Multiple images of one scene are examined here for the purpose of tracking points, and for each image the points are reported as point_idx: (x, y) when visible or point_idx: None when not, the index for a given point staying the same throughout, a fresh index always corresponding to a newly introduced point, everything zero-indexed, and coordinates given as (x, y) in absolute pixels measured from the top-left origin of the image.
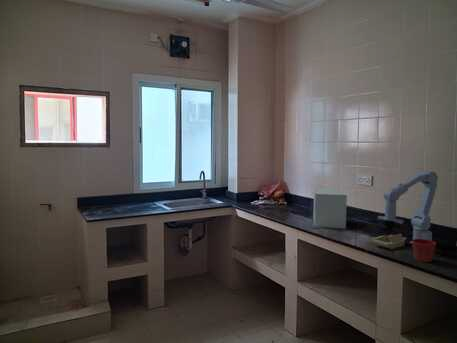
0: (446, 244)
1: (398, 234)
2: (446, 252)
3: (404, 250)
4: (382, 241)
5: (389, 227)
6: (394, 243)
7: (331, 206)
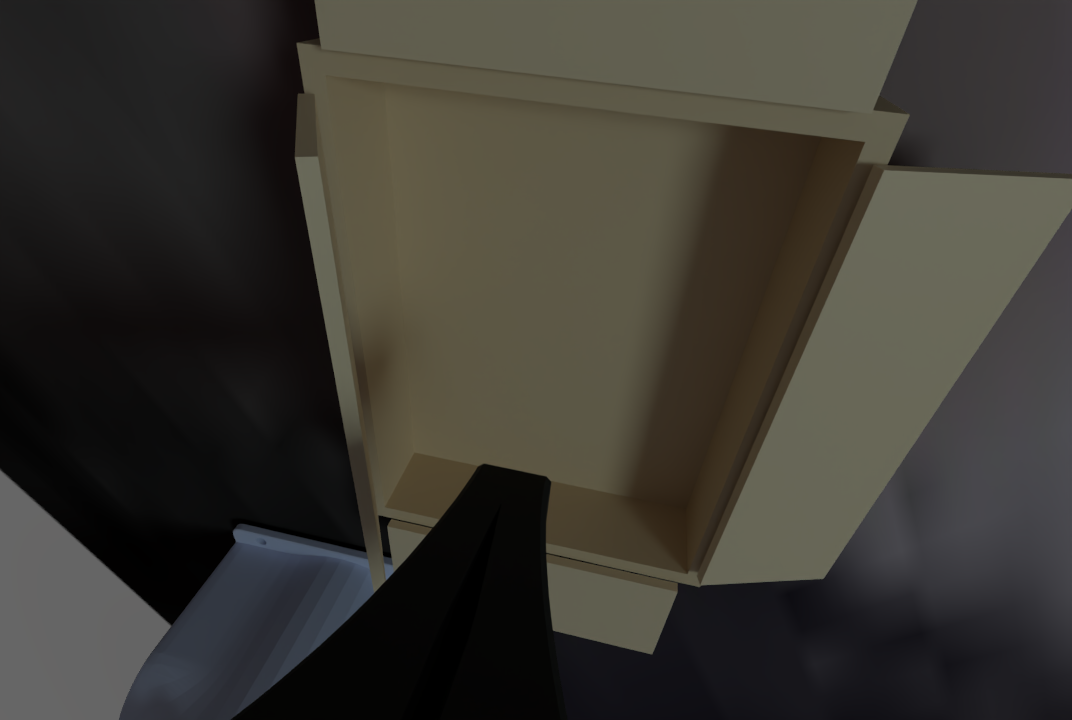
0: None
1: (367, 553)
2: (23, 455)
3: (215, 175)
4: (579, 46)
5: (378, 656)
6: None
7: None
